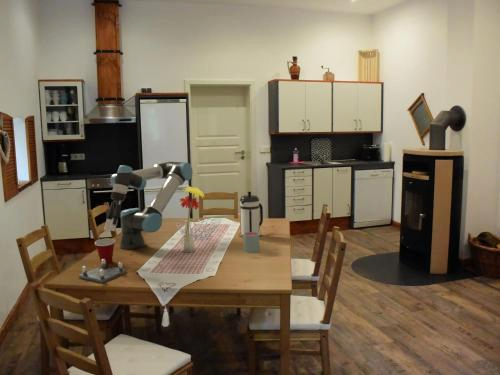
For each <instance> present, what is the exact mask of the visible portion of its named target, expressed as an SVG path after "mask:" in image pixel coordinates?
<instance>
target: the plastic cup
mask: <svg viewBox="0 0 500 375" xmlns="http://www.w3.org/2000/svg"><path fill="white" fill-rule="evenodd" d="M115 244H116V239H114V238H107V237H106V238H101V239H100V238H99V239H97V240H96V241H95V242H94V245H95V247H96V250H97V253H98V256H99V260H100V262H101V259H105V261H106V265H107V264H111V263H112V262H113V256H114V249H115V248H114V247H115Z"/></svg>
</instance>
